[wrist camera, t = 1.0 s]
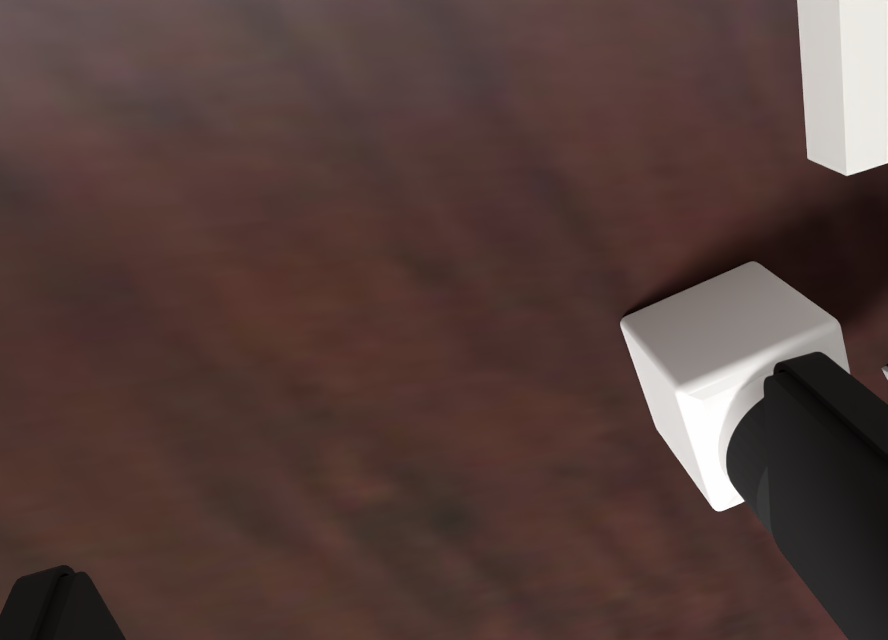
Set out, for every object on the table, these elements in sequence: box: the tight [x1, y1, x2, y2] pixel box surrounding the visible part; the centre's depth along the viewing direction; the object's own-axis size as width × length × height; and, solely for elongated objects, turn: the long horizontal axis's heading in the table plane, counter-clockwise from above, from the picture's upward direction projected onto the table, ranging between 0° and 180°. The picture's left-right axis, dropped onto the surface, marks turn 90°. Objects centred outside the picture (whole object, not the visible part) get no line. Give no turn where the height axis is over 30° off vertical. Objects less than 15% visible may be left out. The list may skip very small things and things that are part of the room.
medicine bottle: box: [620, 261, 850, 535], centre depth 35 cm, size 7×7×12 cm
